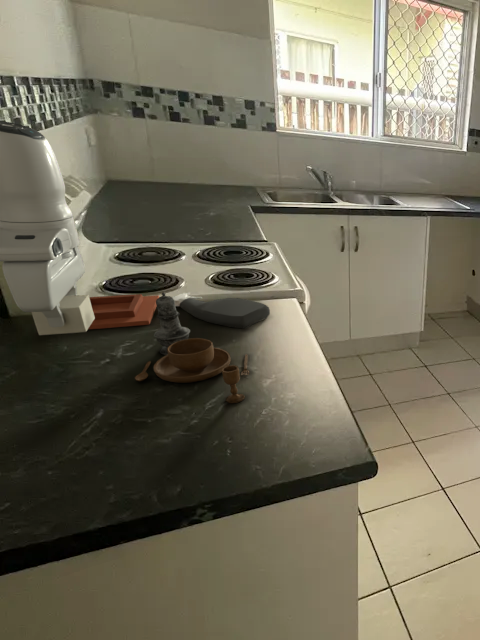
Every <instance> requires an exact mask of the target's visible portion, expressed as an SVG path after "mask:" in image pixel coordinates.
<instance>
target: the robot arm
mask: <svg viewBox="0 0 480 640" xmlns="http://www.w3.org/2000/svg"><path fill="white" fill-rule="evenodd" d="M54 151H55V150H53V147H52V145H51V144H50V142H49V140H48V139H47V138H46V136H44V134H42V133H41V132H40V131H38V130H36V129H34V128H32V127H30V126H27V125H23V124H19V123H15V122H10V121H1V120H0V262H2V272H3V276H4V279H5V281H6V284H7V287H8V289H9V292H10V294H11V296H12V298H13V301H14V303H15V304H16V306H17V307H18V308H19V309H20V310H21V311H22V312H24V313H31V312H42V313H43V314H44V315H45V317H46V318H47V320H48V323H49V326H50V327H62V326H64V324H65V323H66V319H65V316H64V313H61V310H60V308H59V306H60V304H59V302H60V301H61V300H62V298H63V297H64V296H74V295H78V286H77V283H78V281H79V280H80V279H81V278H82V277H83V276H84V275H85V273H86V265H85V261H84V258H83V256H82V253H81V249H80V247H79V246H80V245H81V240H80V236H79V233H78V229H77V225H76V222H75V217H74V214H73V211H72V210H71V208H70V207H69V205H68V203H67V200H66V184H65V180H64V176H63V173H62V170H61V167H60V165H59V162H58V159H57V156H56V154H55V152H54Z"/></svg>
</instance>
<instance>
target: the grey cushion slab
mask: <svg viewBox="0 0 480 640" xmlns="http://www.w3.org/2000/svg"><path fill="white" fill-rule="evenodd" d="M171 297H172V298H173V299H174V302H175V306H176V307H180V308H181V309H182V310H184V311H185V312H187V313H188V314H190V315H191V316H193V317H194V318H196V319H198V320H202V321H204V322H206V323H209V324H210V323H211V324H215V325H218V326H224V327H228V328H234V329H246V328H248V327H251V326H252V325H255V324H257V323H259V322H261V321H264V320H265V319H267V318H268V317H269V316H270V312H271V310H270V307H269V306H268V305H266V304H264V303H262V302H258V301H254V300H250V299H247V298H246V299H244V298H239V297H225V298H220V299H214V300H209V301H204V300H202V299H203V296H193V295H192V293H191V292H190V291H188V292H187V291H186V292H183V293H180V294H177V295H174V296H171Z"/></svg>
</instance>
